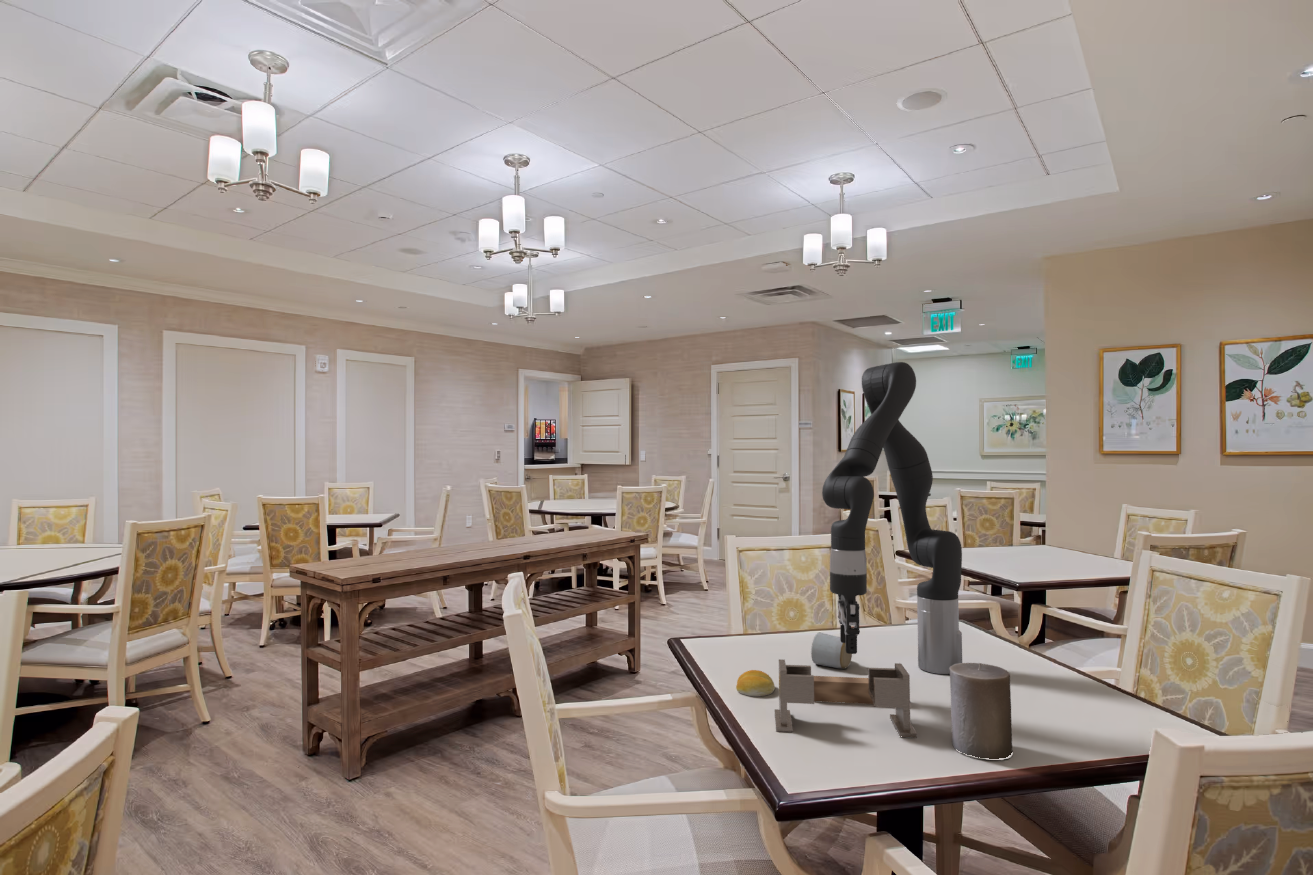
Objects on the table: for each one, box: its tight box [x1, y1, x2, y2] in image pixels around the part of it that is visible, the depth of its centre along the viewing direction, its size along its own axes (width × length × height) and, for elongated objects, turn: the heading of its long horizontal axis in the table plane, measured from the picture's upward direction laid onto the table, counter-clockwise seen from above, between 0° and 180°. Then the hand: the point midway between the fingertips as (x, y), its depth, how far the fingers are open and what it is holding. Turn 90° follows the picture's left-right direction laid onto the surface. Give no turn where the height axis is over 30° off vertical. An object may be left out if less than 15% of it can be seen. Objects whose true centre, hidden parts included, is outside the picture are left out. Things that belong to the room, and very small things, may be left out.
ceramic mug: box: [810, 632, 853, 670], centre depth 168 cm, size 11×8×8 cm
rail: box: [813, 675, 874, 705], centre depth 143 cm, size 18×4×4 cm, turn 81°
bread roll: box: [735, 669, 775, 698], centre depth 150 cm, size 8×9×4 cm
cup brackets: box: [774, 658, 918, 739], centre depth 130 cm, size 25×9×11 cm, turn 82°
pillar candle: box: [949, 662, 1014, 759], centre depth 119 cm, size 10×10×15 cm
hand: (848, 647), depth 143 cm, fingers open, 8 cm apart
